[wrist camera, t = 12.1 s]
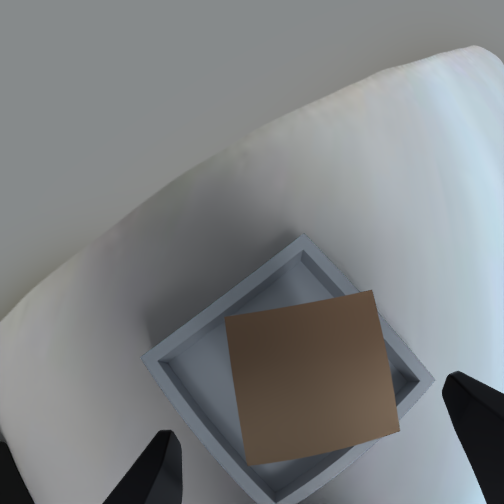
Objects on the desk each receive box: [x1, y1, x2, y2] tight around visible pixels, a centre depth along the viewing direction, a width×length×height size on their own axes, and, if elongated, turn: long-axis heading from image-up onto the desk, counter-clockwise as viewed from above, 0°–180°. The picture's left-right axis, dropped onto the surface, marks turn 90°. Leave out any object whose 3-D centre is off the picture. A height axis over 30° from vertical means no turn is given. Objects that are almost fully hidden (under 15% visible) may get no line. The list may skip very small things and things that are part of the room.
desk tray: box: [140, 233, 435, 504], centre depth 17 cm, size 13×13×2 cm
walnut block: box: [224, 290, 400, 466], centre depth 12 cm, size 4×4×11 cm
